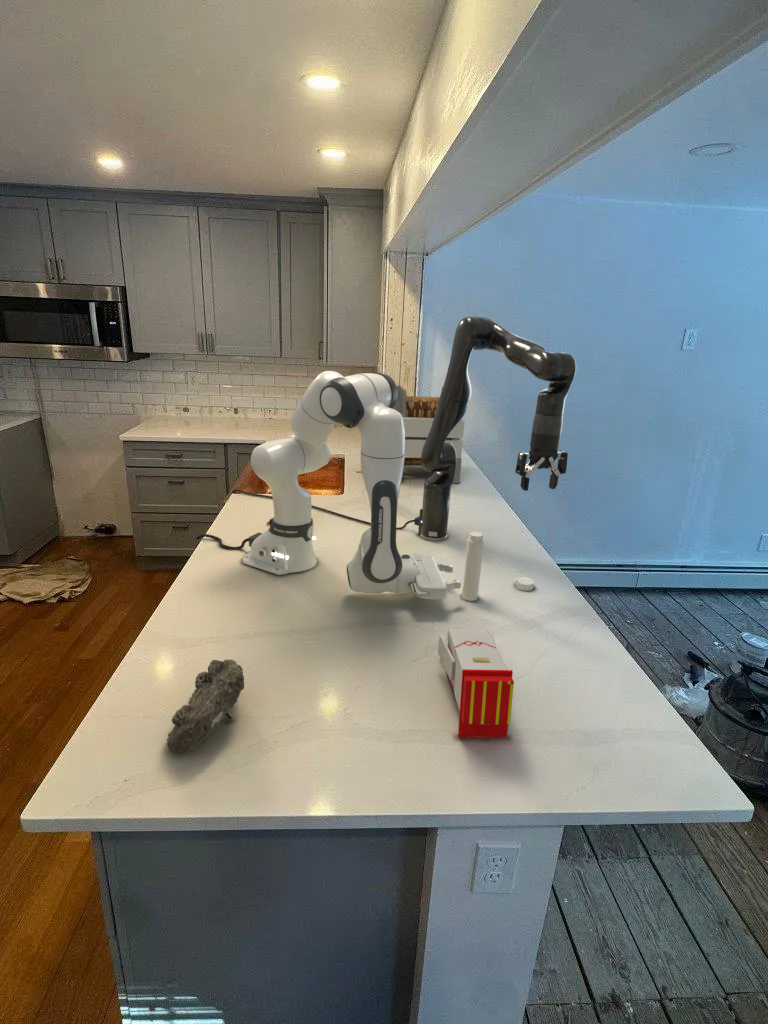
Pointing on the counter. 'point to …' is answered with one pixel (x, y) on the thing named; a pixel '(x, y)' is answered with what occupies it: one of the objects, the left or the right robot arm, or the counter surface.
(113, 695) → the counter surface
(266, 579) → the counter surface
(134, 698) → the counter surface
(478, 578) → the slender white bottle
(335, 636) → the counter surface
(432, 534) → the right robot arm
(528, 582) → the lid
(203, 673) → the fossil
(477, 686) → the toy
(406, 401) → the grey boxy piece
